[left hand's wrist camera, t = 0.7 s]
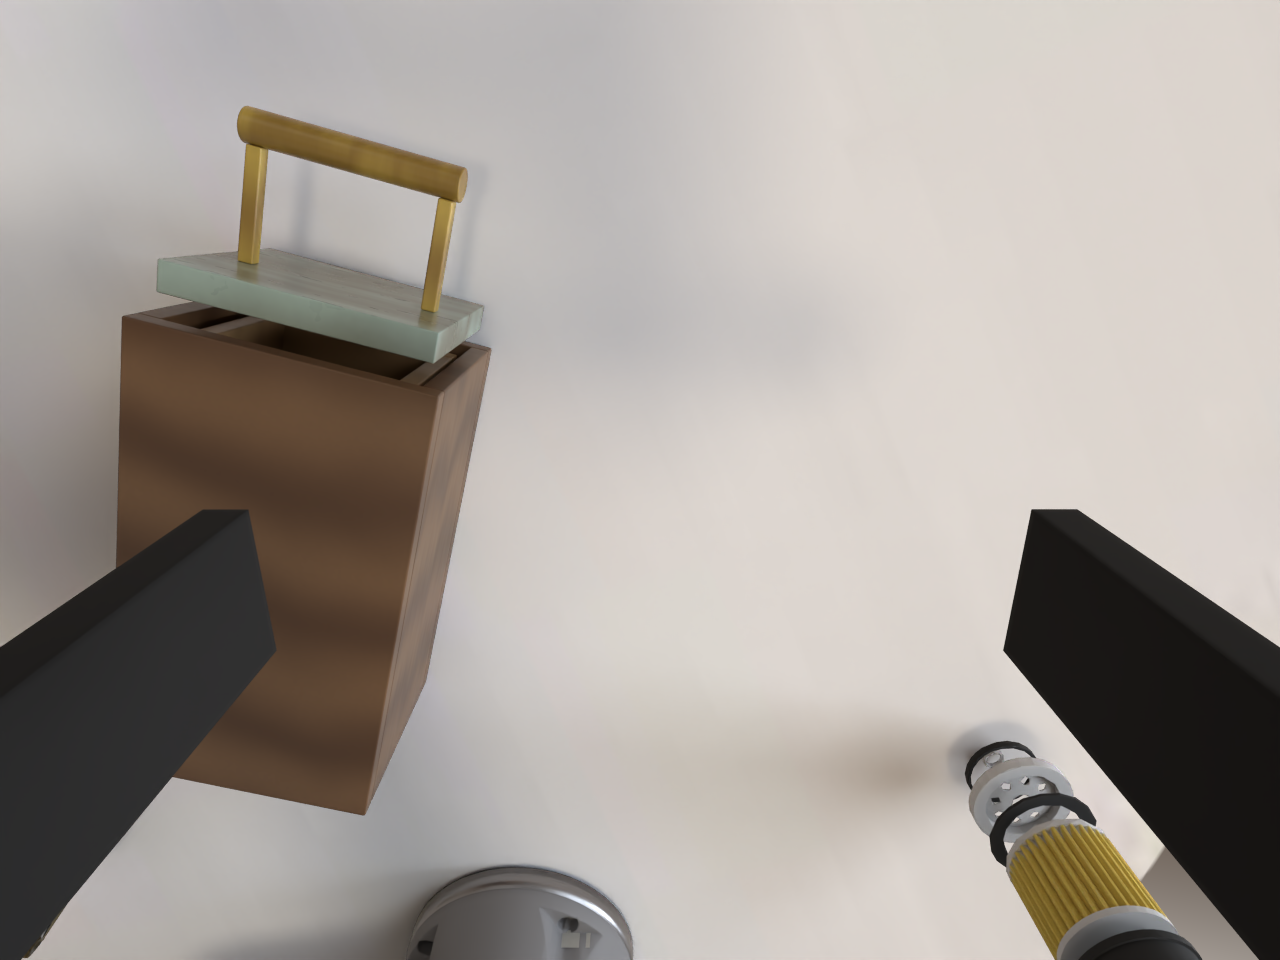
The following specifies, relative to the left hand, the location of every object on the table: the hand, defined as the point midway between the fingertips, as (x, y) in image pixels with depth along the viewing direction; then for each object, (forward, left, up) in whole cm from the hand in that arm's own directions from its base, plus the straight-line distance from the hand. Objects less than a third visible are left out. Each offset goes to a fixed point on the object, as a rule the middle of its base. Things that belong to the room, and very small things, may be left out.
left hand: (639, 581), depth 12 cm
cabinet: (+8, -16, -25) cm, 31 cm away
